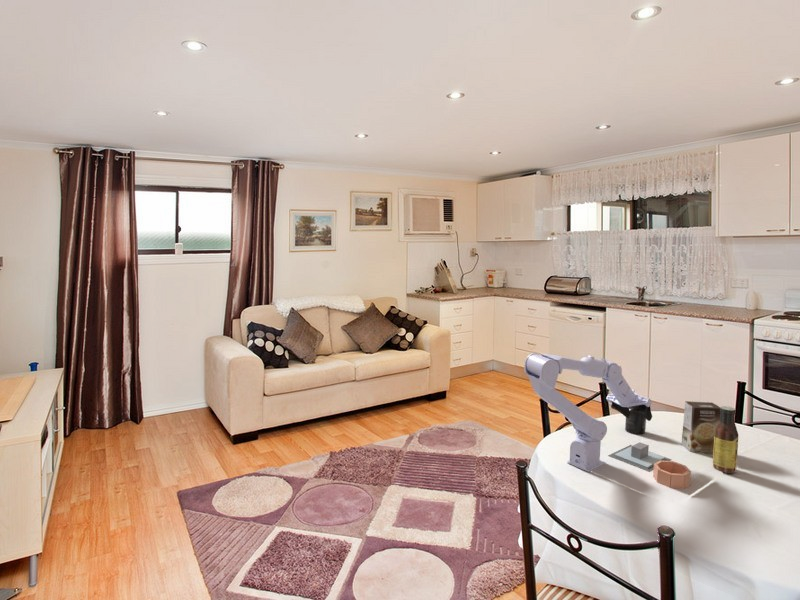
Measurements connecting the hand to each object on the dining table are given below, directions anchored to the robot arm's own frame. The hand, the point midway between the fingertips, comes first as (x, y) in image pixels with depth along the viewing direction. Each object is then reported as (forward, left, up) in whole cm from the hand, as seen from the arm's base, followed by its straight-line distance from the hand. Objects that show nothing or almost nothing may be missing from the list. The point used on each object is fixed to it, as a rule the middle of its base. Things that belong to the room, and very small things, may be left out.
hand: (639, 417), depth 166 cm
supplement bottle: (+16, +10, -13) cm, 23 cm away
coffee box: (+19, -11, -13) cm, 26 cm away
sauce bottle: (+10, -22, -13) cm, 28 cm away
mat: (-4, -3, -13) cm, 13 cm away
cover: (-4, -3, -12) cm, 13 cm away
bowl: (-11, -16, -13) cm, 23 cm away
